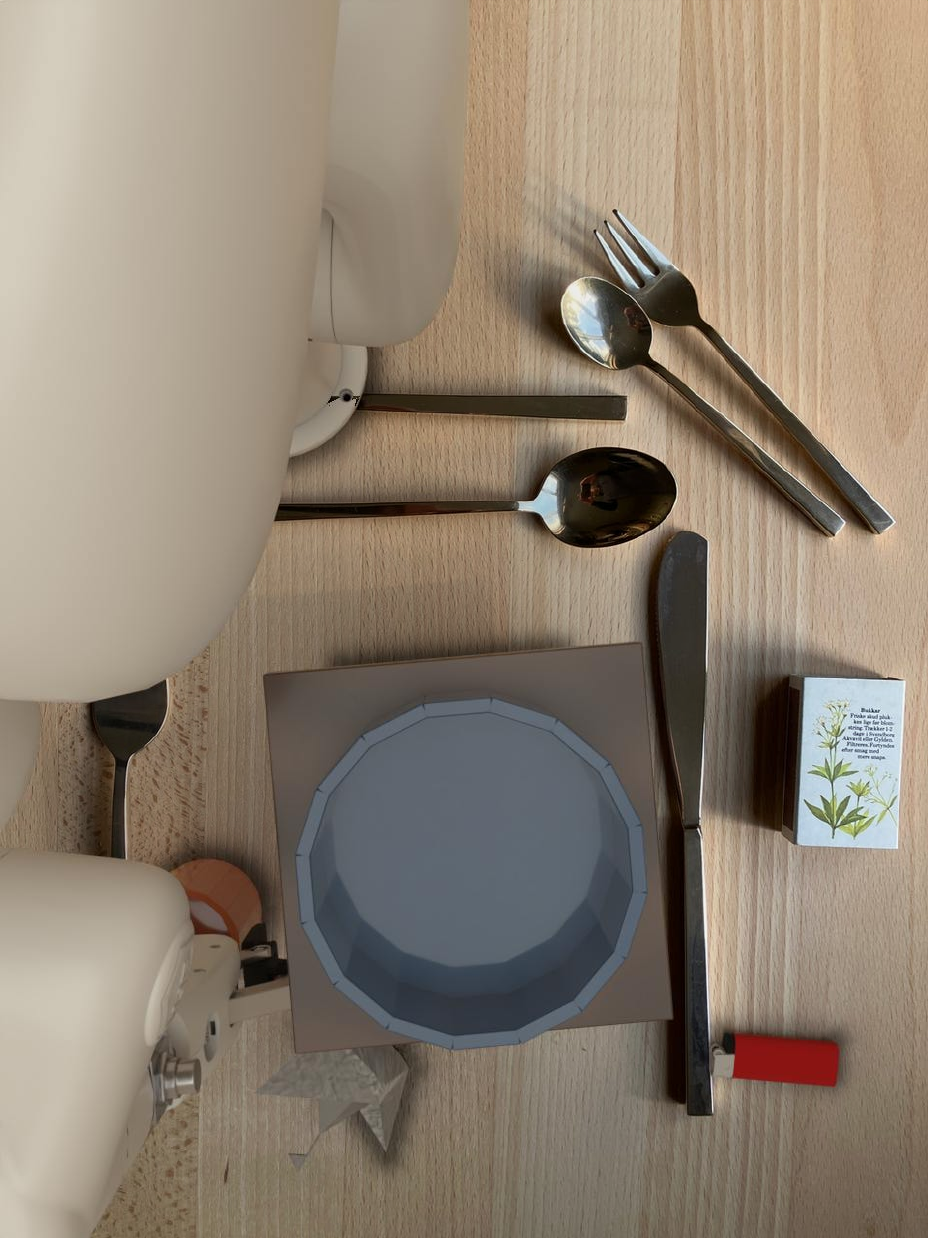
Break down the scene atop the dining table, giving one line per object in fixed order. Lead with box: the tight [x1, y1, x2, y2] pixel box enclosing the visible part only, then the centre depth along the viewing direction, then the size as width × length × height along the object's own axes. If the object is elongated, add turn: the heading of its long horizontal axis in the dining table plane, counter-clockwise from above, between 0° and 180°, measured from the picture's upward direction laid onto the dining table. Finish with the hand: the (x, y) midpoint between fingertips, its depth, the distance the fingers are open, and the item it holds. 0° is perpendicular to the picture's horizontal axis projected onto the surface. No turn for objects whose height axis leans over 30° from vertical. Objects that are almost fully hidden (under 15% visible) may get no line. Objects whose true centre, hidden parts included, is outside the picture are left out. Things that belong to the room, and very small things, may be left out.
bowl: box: [295, 689, 648, 1051], centre depth 42 cm, size 13×13×4 cm
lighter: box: [708, 1032, 840, 1088], centre depth 68 cm, size 3×1×8 cm
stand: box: [262, 641, 674, 1055], centre depth 56 cm, size 16×16×24 cm
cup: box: [169, 858, 263, 951], centre depth 64 cm, size 7×7×8 cm
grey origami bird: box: [253, 1045, 410, 1173], centre depth 65 cm, size 12×6×9 cm
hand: (178, 957), depth 61 cm, fingers open, 9 cm apart
